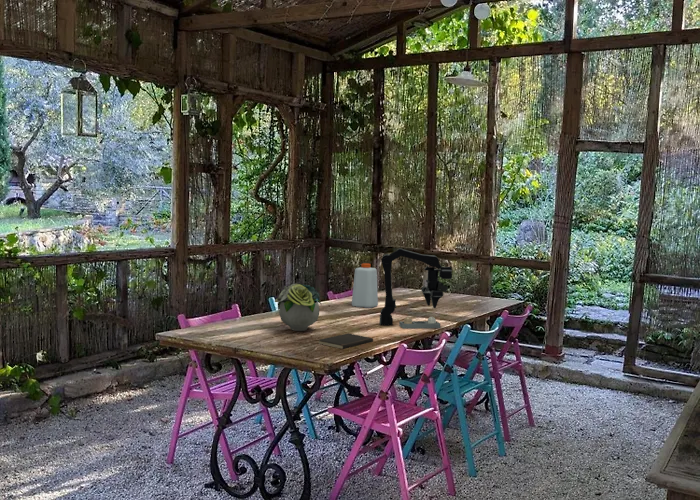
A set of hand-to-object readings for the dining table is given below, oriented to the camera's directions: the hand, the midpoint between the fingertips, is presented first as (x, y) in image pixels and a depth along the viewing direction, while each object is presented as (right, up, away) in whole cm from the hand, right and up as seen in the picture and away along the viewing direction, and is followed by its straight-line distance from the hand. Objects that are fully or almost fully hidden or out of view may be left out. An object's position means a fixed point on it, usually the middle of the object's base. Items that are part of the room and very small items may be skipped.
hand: (431, 307), depth 352 cm
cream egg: (0, -11, +1) cm, 11 cm away
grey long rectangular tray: (-7, -12, -1) cm, 14 cm away
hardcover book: (-47, -14, -41) cm, 64 cm away
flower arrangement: (-72, -11, -13) cm, 74 cm away
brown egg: (-13, -11, -3) cm, 17 cm away
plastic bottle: (-35, -6, +71) cm, 80 cm away
